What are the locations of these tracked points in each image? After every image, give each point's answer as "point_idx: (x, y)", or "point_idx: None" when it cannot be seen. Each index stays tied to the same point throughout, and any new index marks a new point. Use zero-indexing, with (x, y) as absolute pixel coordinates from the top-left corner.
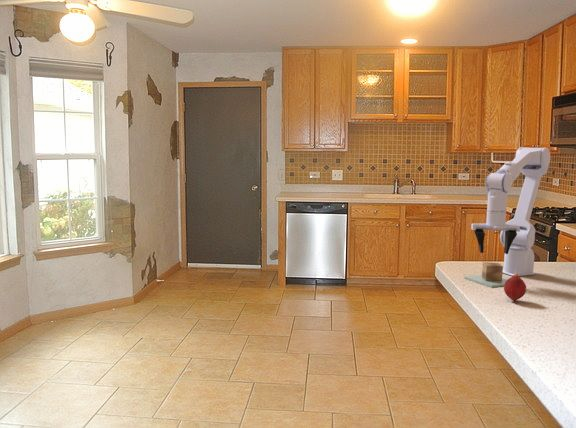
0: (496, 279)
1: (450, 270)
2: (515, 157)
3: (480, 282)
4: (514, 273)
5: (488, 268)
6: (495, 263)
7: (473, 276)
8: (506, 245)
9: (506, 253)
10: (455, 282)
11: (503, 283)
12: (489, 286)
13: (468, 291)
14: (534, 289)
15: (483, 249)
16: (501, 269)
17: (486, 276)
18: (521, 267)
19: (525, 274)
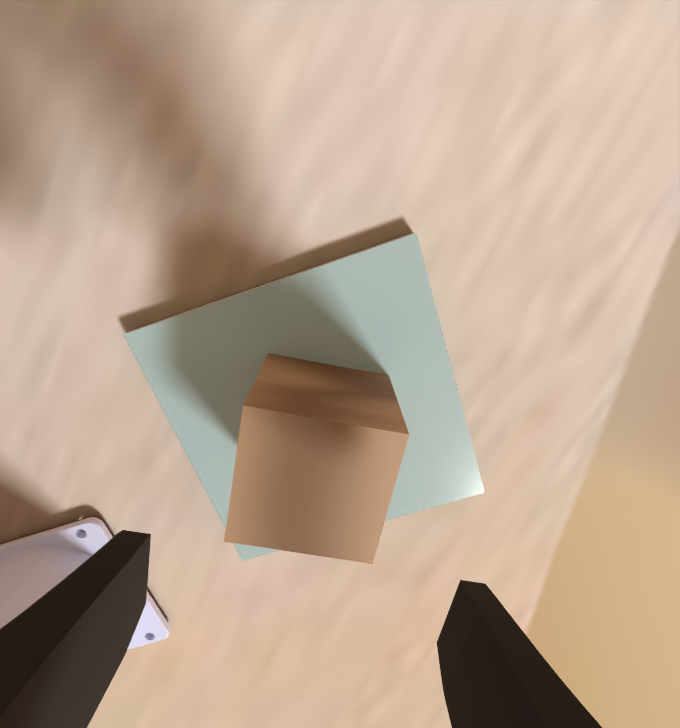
0: (308, 366)
1: None
2: None
3: (444, 344)
4: (82, 555)
5: (385, 417)
6: (269, 518)
7: (416, 493)
8: (72, 673)
9: (139, 535)
10: (607, 383)
11: (279, 297)
12: (418, 250)
13: (672, 109)
14: (65, 165)
15: (485, 616)
16: (261, 394)
17: (389, 388)
18: (2, 586)
19: (6, 545)
